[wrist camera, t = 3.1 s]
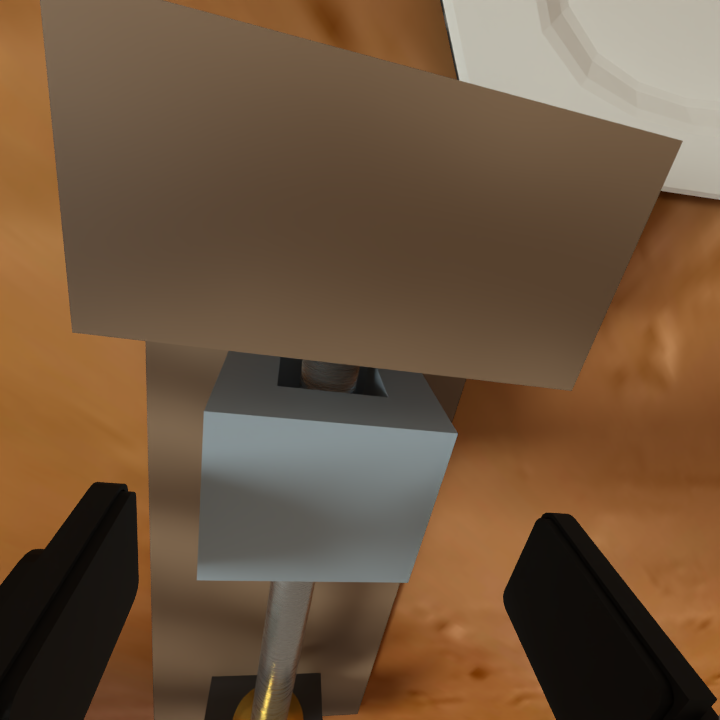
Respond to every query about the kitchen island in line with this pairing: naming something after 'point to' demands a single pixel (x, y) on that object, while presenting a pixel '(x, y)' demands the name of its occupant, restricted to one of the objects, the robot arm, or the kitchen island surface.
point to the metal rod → (289, 597)
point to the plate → (605, 67)
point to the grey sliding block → (317, 474)
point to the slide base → (314, 267)
